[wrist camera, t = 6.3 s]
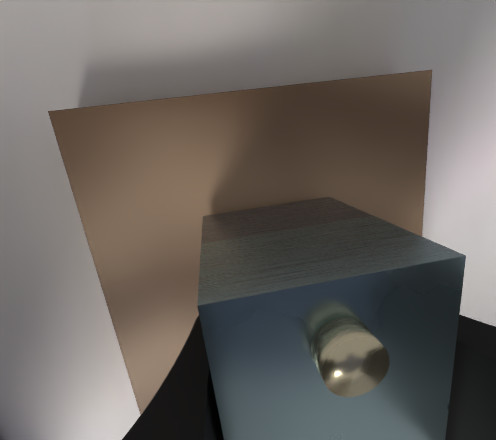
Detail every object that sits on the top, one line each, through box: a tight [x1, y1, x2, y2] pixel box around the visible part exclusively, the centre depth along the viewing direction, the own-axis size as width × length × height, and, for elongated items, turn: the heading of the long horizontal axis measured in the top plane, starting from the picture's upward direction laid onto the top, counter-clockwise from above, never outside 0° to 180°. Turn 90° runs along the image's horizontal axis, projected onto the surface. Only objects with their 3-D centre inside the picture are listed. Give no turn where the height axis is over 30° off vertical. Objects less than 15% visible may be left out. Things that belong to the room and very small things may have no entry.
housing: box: [197, 197, 466, 440], centre depth 9 cm, size 5×8×7 cm, turn 7°
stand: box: [48, 70, 432, 414], centre depth 13 cm, size 16×14×2 cm
